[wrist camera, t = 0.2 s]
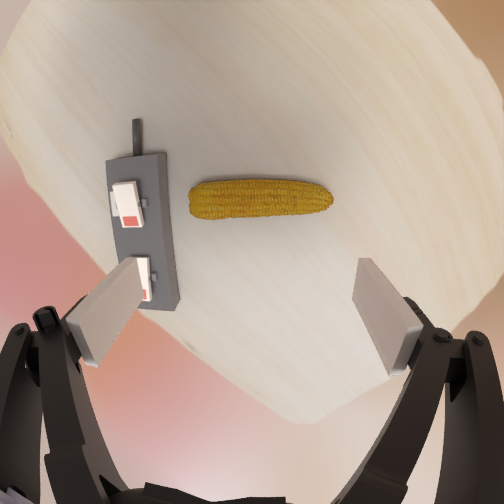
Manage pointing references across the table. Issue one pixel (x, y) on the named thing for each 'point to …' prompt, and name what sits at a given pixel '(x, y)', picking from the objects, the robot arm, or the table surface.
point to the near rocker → (128, 204)
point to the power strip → (147, 221)
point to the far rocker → (145, 276)
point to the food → (257, 198)
